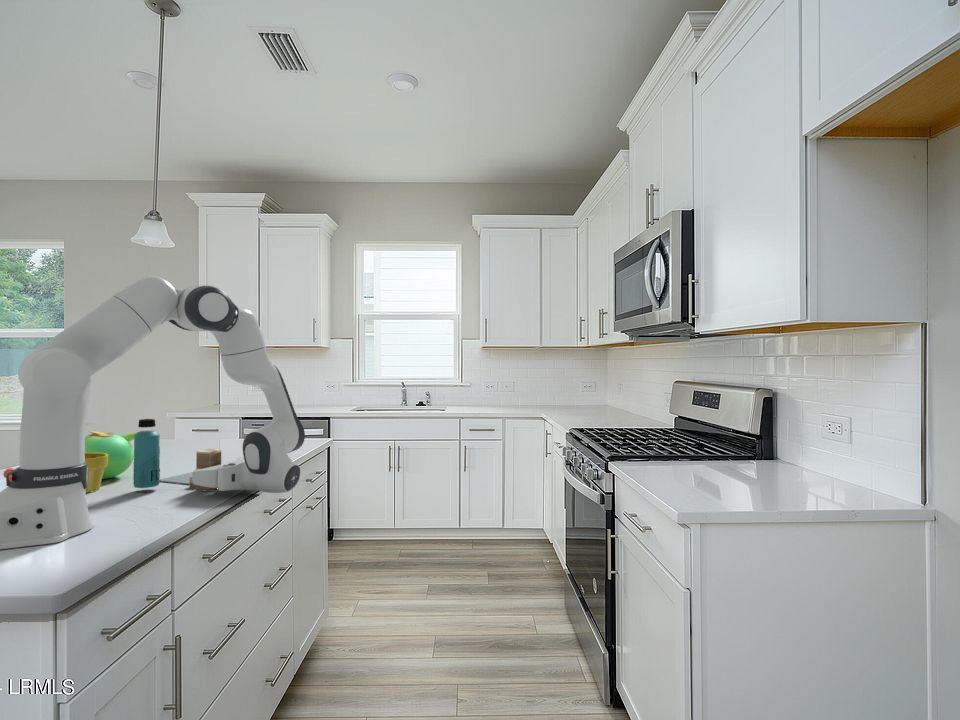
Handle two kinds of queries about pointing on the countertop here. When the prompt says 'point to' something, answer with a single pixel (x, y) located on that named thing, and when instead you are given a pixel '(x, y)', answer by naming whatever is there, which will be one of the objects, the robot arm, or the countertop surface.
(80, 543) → the countertop surface
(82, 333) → the robot arm
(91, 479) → the plant pot
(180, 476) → the grey mat
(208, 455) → the walnut block
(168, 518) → the countertop surface
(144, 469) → the beverage bottle
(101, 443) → the green rounded body
